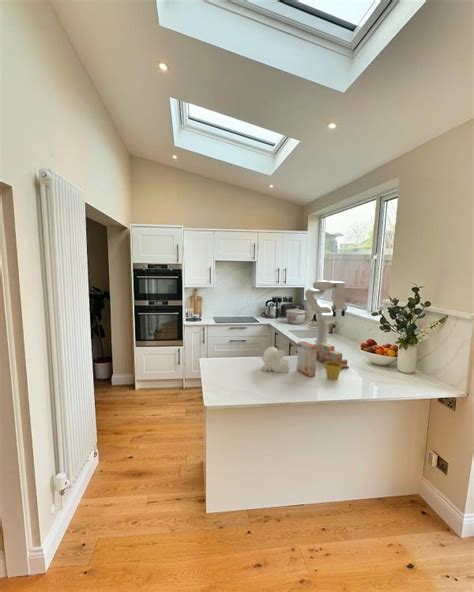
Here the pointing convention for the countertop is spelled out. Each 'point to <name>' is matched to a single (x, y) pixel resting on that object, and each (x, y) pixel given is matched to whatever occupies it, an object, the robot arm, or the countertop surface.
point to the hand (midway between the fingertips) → (338, 316)
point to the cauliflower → (275, 360)
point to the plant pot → (333, 370)
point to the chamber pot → (295, 316)
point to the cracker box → (306, 358)
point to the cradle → (342, 361)
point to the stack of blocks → (328, 352)
